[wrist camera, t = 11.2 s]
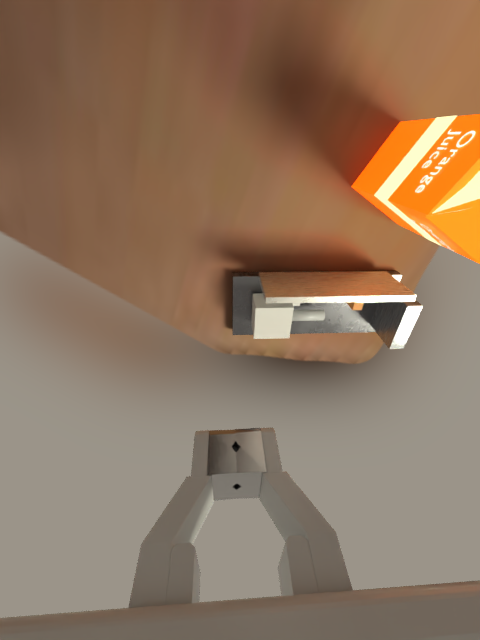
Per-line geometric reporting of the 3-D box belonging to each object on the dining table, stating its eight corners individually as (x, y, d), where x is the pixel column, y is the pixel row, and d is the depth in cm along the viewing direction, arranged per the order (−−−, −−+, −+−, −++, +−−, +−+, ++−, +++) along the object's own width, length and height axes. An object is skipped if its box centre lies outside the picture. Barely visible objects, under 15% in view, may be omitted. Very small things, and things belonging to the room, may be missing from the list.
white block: (251, 322, 41) (253, 338, 37) (253, 283, 37) (256, 297, 34) (315, 321, 41) (324, 337, 38) (324, 282, 38) (334, 296, 34)
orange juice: (400, 119, 29) (636, 94, 13) (448, 168, 32) (690, 199, 16) (349, 187, 33) (481, 238, 16) (396, 226, 36) (549, 301, 19)
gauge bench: (232, 329, 43) (234, 366, 36) (232, 268, 38) (235, 297, 31) (375, 326, 45) (404, 361, 38) (397, 266, 39) (436, 295, 32)
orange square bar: (338, 291, 39) (352, 310, 34) (340, 284, 38) (354, 302, 34) (346, 291, 39) (361, 310, 35) (348, 284, 38) (364, 302, 34)
